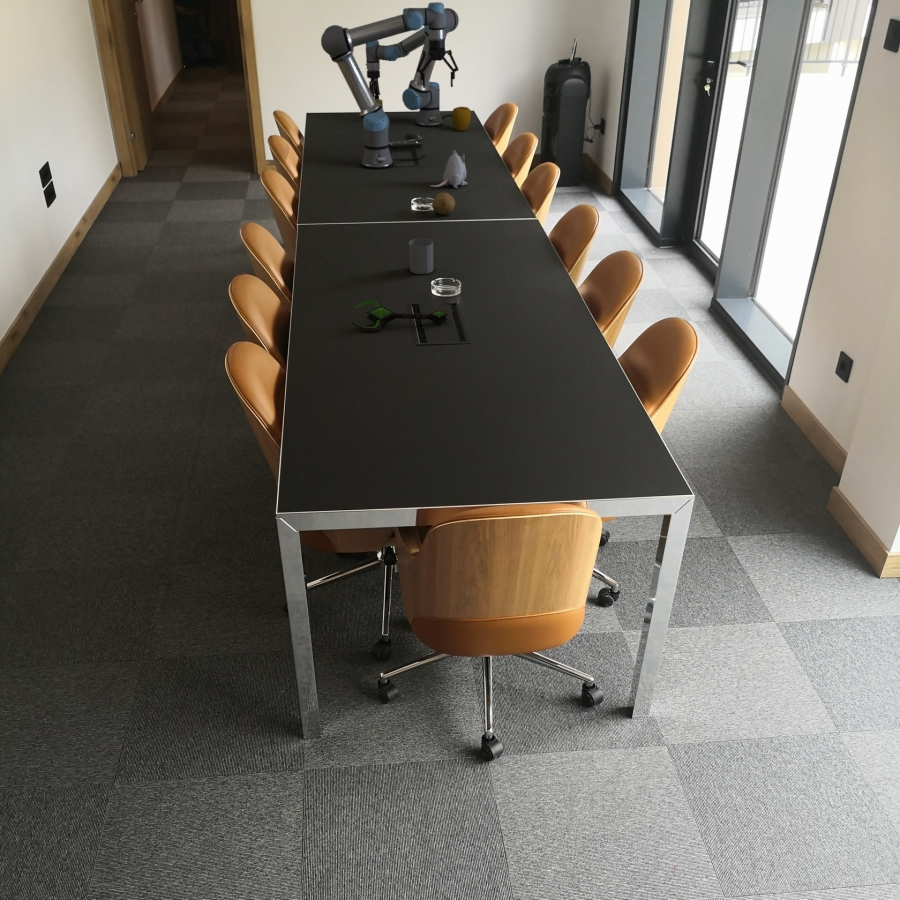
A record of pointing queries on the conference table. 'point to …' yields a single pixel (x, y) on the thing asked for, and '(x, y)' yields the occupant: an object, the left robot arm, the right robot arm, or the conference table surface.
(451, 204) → the potato
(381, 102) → the canister
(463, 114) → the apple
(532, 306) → the conference table surface
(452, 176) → the toy
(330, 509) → the conference table surface
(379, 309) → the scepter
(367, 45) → the right robot arm
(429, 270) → the cup
